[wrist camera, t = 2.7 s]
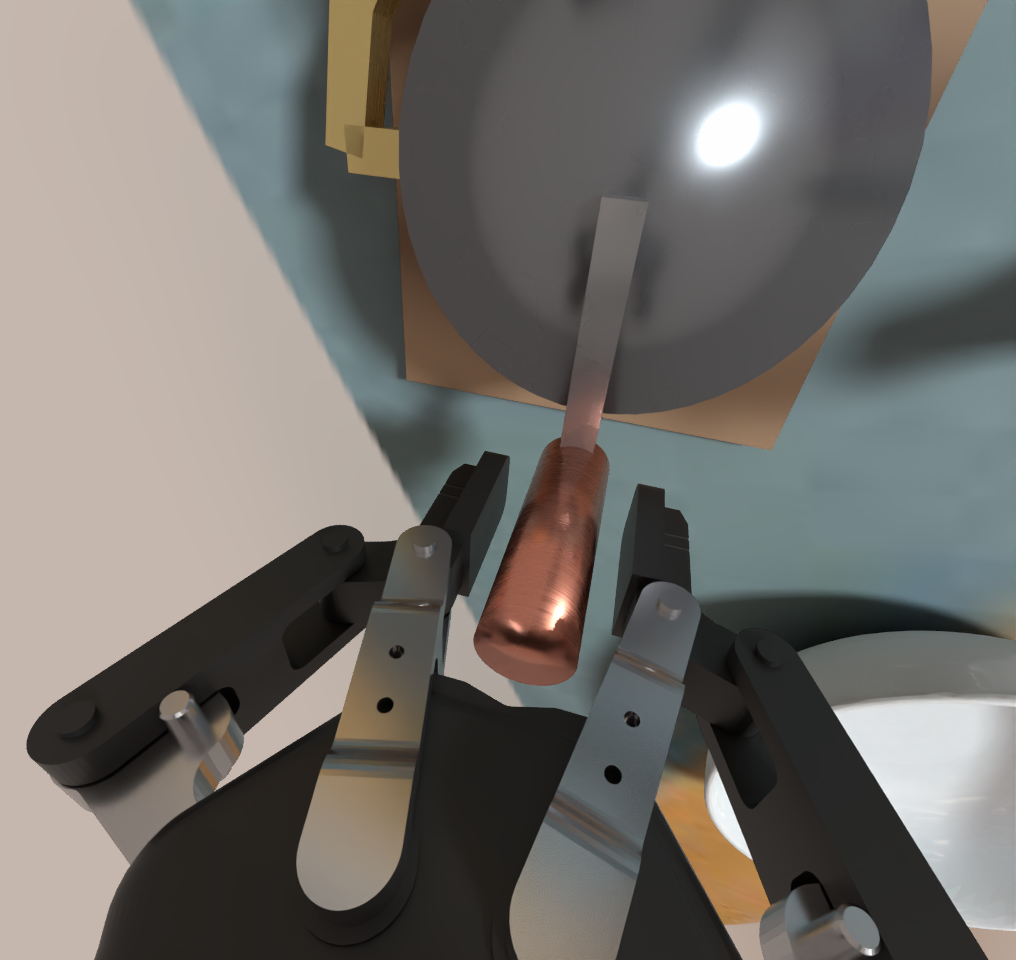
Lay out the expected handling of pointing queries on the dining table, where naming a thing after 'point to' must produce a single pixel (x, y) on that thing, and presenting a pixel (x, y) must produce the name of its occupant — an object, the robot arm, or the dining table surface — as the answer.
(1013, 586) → the dining table surface
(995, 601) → the dining table surface
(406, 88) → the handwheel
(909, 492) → the dining table surface
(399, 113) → the board
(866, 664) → the serving bowl
